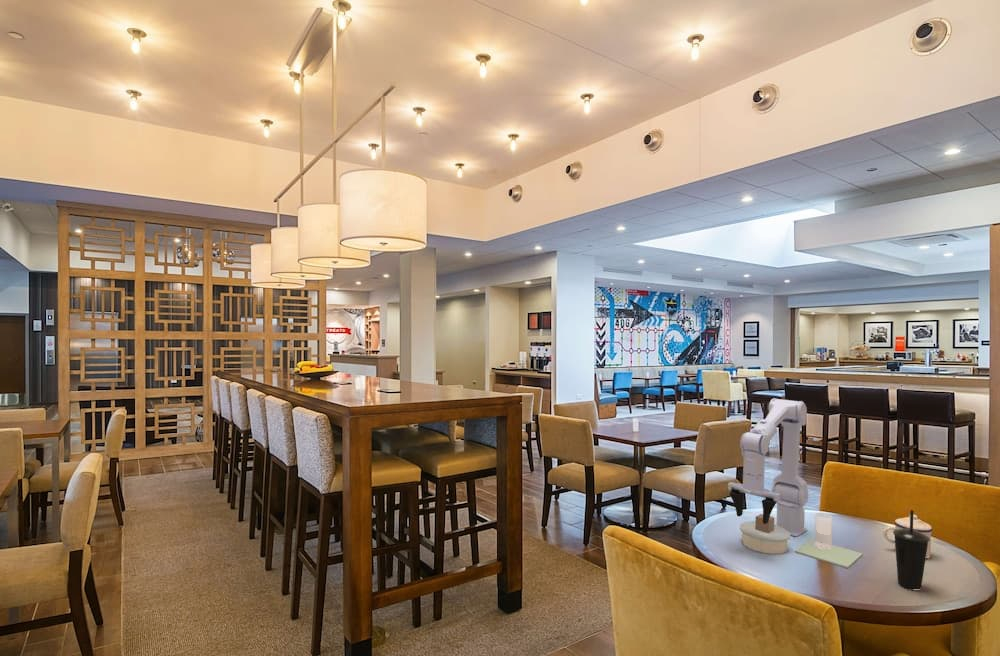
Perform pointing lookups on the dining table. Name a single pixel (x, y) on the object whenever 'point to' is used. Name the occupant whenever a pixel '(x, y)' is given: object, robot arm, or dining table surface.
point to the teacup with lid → (917, 525)
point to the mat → (830, 554)
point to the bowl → (764, 545)
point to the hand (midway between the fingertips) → (752, 519)
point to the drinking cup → (910, 555)
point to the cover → (765, 530)
